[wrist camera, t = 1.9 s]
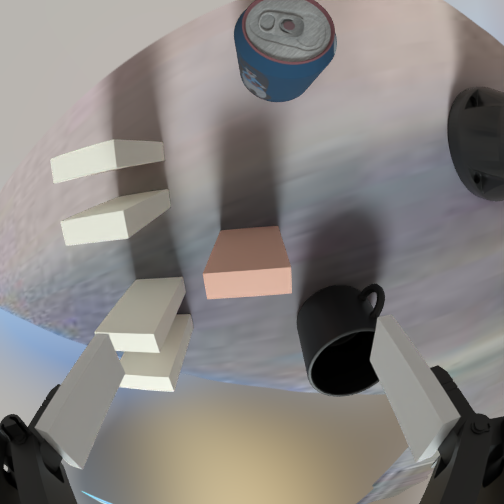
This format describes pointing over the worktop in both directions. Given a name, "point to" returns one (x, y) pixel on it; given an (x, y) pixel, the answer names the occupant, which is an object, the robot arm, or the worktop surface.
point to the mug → (340, 339)
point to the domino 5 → (248, 264)
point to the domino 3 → (144, 315)
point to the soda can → (283, 47)
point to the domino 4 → (159, 360)
